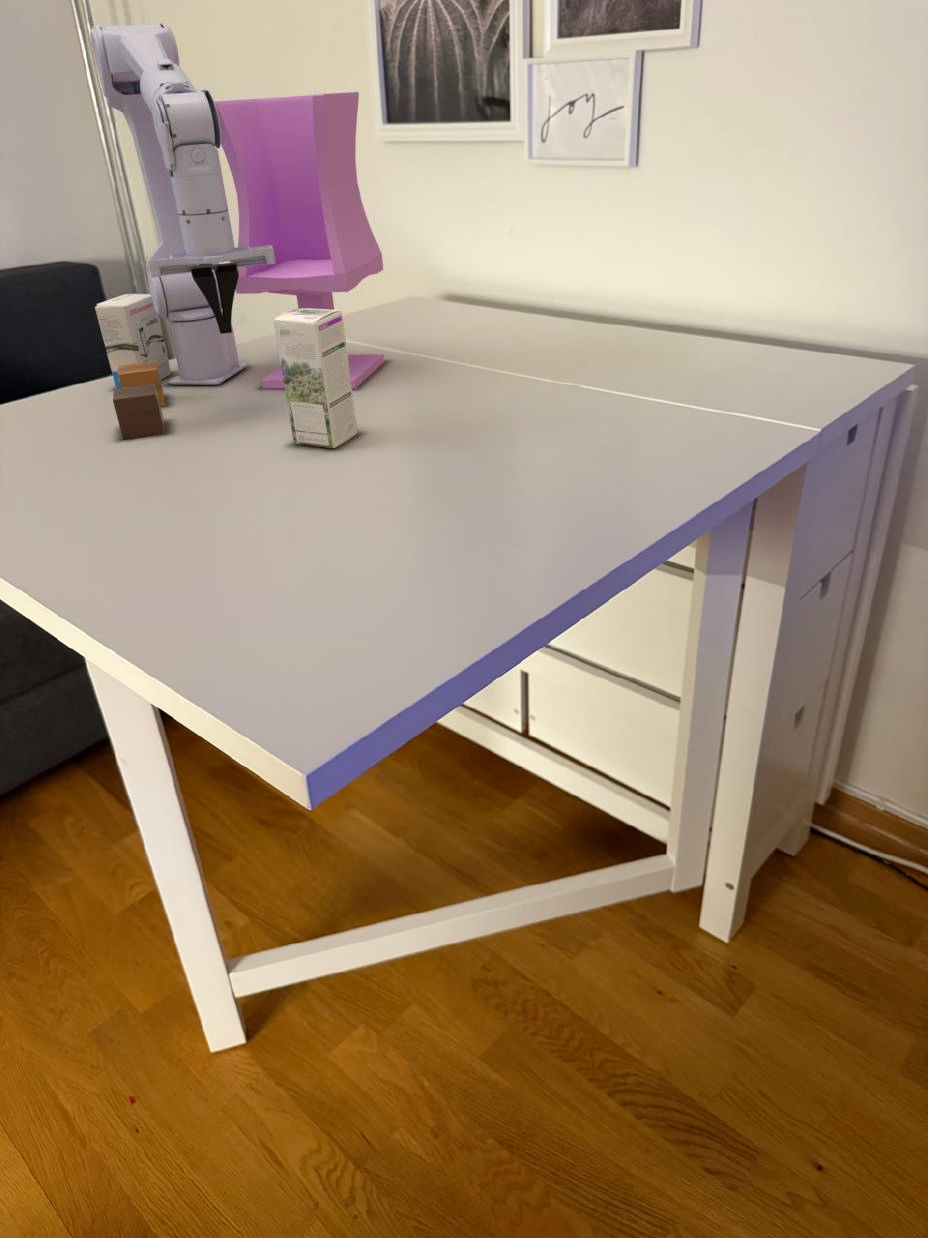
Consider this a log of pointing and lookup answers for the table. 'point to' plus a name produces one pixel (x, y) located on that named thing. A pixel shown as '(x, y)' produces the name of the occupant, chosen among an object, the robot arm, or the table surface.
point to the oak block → (141, 376)
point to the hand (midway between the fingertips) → (225, 331)
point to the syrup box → (316, 376)
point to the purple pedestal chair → (301, 202)
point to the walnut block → (138, 411)
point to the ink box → (132, 333)
